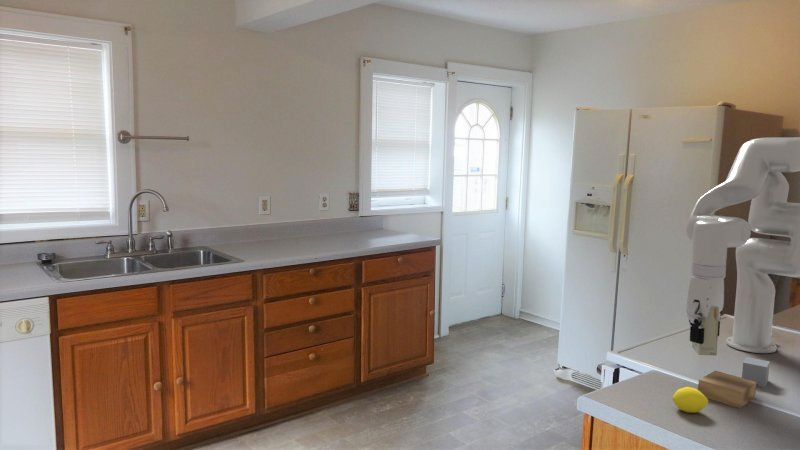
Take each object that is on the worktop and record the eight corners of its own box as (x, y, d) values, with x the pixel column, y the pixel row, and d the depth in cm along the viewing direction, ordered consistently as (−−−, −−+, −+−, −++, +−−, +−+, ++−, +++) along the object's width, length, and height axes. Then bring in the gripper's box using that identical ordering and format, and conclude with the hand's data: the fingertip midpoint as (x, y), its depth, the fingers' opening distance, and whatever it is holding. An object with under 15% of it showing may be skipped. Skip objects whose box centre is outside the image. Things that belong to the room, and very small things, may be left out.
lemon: (672, 415, 126) (670, 390, 125) (674, 405, 130) (672, 382, 130) (708, 418, 122) (706, 393, 122) (710, 409, 127) (708, 384, 126)
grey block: (744, 376, 147) (746, 356, 146) (767, 381, 144) (769, 361, 143) (741, 382, 143) (743, 362, 142) (765, 387, 140) (767, 367, 139)
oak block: (713, 386, 141) (715, 370, 140) (755, 398, 134) (756, 382, 133) (697, 396, 135) (698, 379, 134) (739, 409, 128) (741, 392, 128)
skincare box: (717, 356, 144) (720, 308, 142) (698, 355, 145) (700, 308, 143) (709, 347, 150) (711, 301, 148) (690, 346, 151) (693, 300, 149)
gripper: (710, 262, 152) (706, 327, 155) (675, 273, 142) (671, 342, 145) (740, 267, 146) (736, 334, 149) (706, 279, 136) (702, 351, 139)
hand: (704, 338), depth 147 cm, fingers closed on skincare box, 7 cm apart
